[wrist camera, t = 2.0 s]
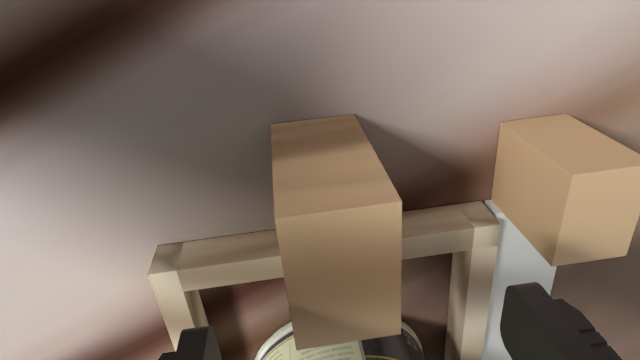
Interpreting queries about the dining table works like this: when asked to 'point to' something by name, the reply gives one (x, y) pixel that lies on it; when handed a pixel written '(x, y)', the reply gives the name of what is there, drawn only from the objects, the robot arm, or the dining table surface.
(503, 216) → the empty strip
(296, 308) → the frame
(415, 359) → the coffee can
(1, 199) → the dining table surface
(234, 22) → the dining table surface
